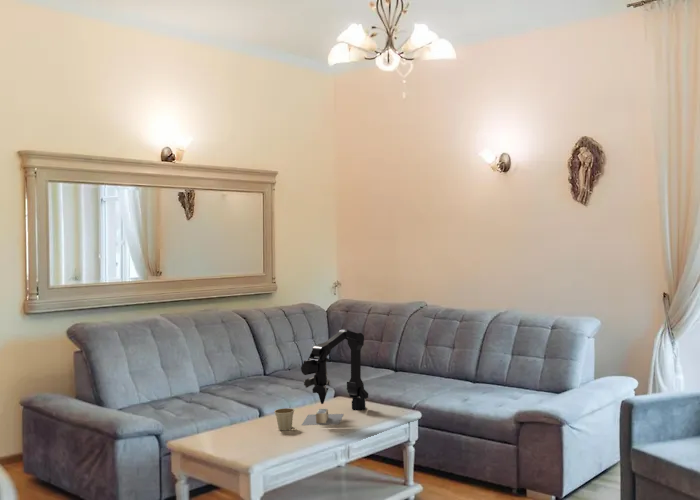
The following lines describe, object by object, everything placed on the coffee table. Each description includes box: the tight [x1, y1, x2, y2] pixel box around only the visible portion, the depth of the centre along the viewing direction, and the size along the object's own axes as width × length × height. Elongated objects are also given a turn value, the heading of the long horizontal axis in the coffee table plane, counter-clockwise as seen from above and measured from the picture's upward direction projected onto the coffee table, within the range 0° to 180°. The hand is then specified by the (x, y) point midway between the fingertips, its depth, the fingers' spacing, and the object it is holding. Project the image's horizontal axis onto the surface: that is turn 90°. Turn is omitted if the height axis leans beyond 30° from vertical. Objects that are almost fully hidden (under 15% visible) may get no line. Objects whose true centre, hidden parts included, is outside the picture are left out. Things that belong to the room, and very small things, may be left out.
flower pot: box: [274, 407, 295, 431], centre depth 326 cm, size 9×9×9 cm
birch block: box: [315, 408, 329, 423], centre depth 336 cm, size 4×4×10 cm
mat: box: [301, 413, 344, 426], centre depth 339 cm, size 18×20×1 cm
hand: (322, 403), depth 339 cm, fingers closed
